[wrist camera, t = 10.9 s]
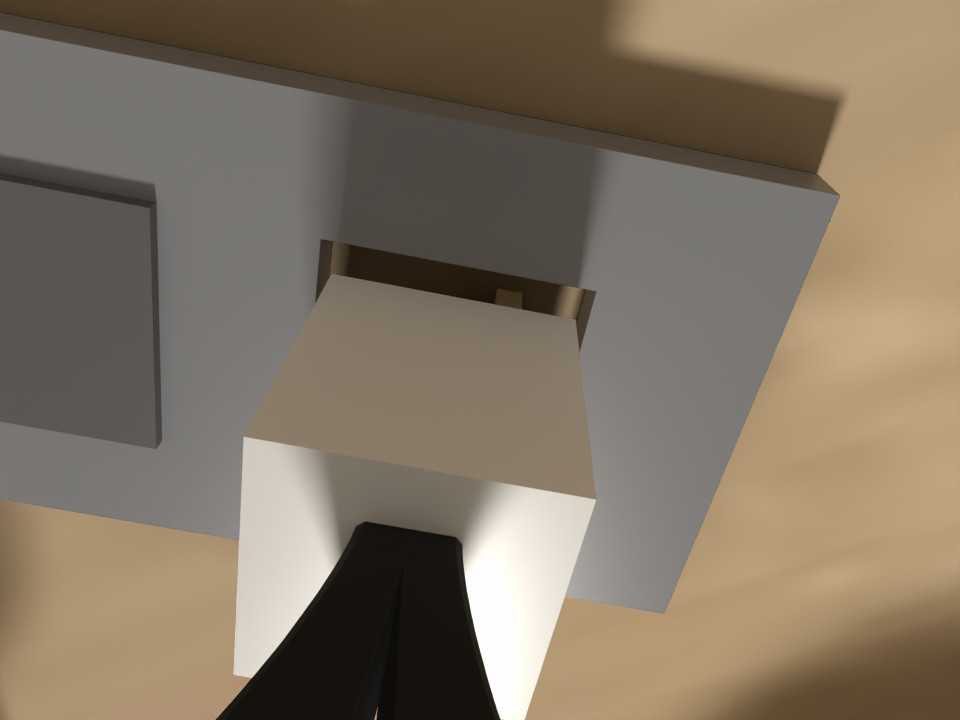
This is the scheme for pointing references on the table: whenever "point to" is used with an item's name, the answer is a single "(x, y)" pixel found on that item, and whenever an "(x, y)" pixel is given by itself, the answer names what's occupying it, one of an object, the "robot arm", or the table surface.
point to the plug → (421, 463)
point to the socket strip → (306, 267)
